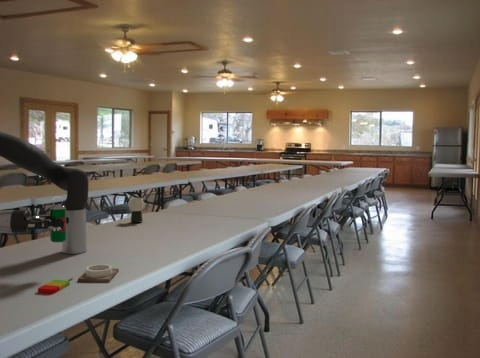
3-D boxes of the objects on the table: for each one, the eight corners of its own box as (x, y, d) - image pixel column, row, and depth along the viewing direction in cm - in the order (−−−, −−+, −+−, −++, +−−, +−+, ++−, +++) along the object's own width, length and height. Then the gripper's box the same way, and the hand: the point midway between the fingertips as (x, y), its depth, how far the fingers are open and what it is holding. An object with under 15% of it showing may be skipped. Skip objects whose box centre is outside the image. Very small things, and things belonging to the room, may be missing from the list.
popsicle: (35, 294, 138) (35, 288, 137) (64, 279, 152) (64, 273, 152) (52, 296, 137) (52, 289, 136) (80, 280, 151) (80, 275, 151)
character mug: (149, 222, 252) (148, 198, 251) (141, 224, 246) (141, 200, 244) (132, 220, 256) (132, 197, 255) (124, 222, 250) (124, 198, 249)
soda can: (68, 239, 159) (68, 204, 157) (63, 242, 154) (63, 206, 152) (53, 239, 158) (53, 204, 157) (47, 242, 153) (47, 206, 152)
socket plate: (89, 271, 160) (89, 262, 160) (118, 271, 161) (118, 262, 160) (77, 281, 148) (77, 272, 148) (109, 282, 149) (109, 273, 148)
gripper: (4, 214, 146) (60, 214, 148) (21, 207, 161) (72, 207, 162) (5, 237, 147) (60, 237, 149) (21, 228, 161) (72, 228, 163)
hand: (66, 221), depth 156 cm, fingers closed on soda can, 5 cm apart
